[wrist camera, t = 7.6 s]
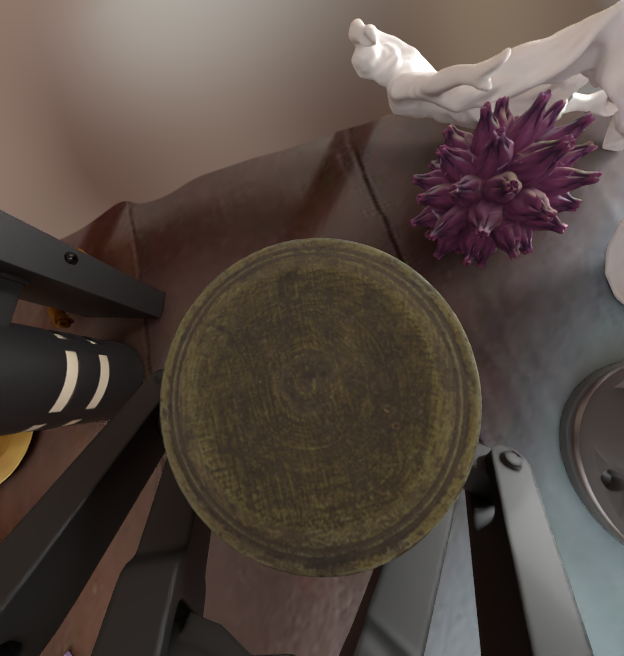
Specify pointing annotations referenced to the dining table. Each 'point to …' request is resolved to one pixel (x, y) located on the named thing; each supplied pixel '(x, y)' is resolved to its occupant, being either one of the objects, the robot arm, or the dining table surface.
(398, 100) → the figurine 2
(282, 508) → the container
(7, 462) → the cup
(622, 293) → the cup
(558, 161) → the purple spiky ball
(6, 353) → the light fixture
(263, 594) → the dining table surface
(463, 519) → the dining table surface
